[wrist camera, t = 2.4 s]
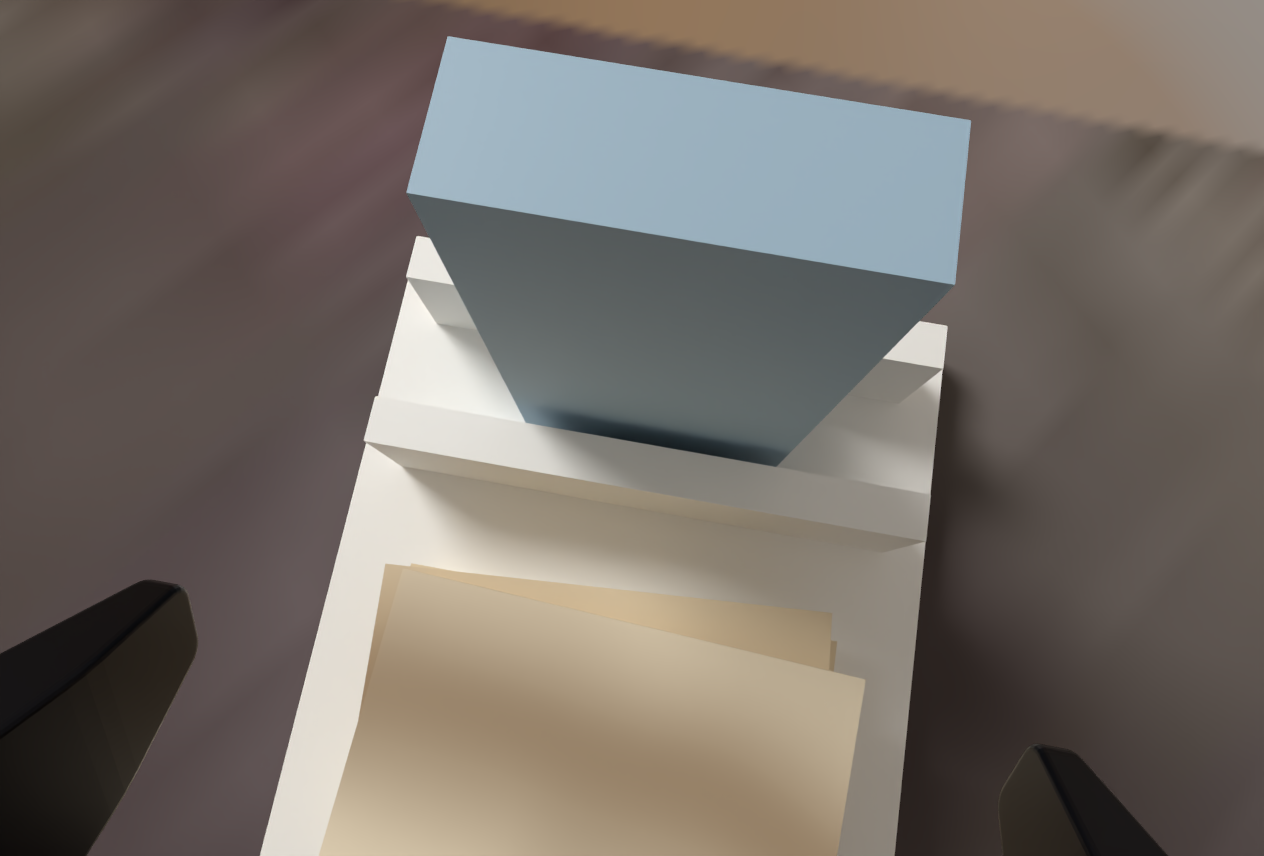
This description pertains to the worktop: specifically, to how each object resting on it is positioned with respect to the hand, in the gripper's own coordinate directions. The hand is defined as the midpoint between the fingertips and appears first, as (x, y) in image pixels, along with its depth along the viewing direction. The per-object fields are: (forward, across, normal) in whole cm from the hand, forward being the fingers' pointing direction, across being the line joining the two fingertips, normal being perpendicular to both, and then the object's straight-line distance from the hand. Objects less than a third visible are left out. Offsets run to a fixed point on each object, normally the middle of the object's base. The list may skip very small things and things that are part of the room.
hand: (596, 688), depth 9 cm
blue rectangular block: (+12, 0, +4) cm, 12 cm away
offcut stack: (+6, 0, +9) cm, 11 cm away
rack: (+10, 0, +8) cm, 13 cm away
